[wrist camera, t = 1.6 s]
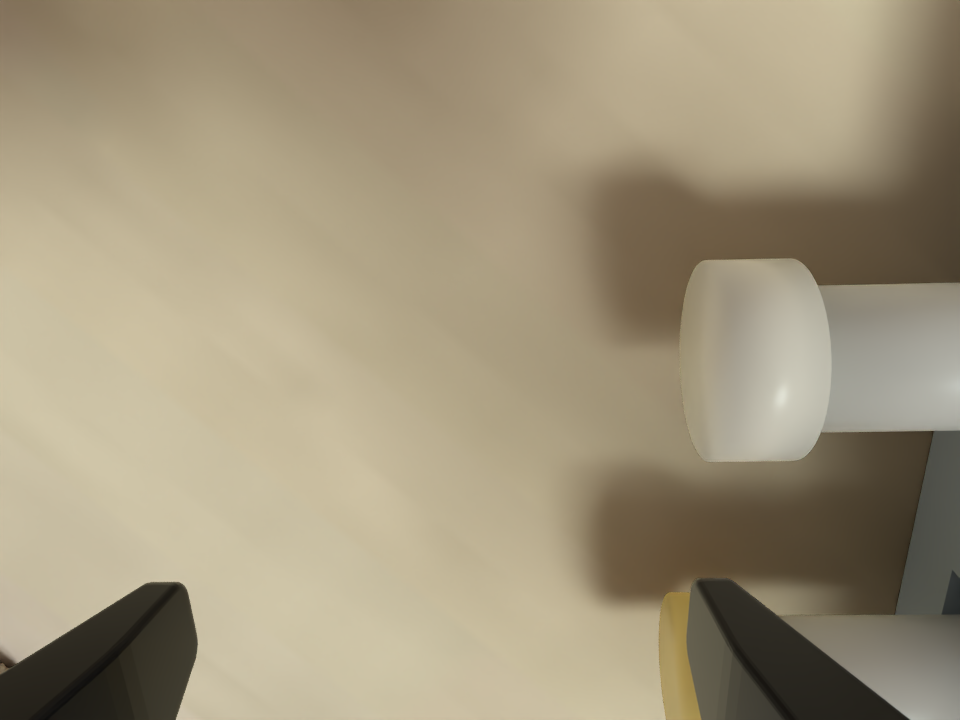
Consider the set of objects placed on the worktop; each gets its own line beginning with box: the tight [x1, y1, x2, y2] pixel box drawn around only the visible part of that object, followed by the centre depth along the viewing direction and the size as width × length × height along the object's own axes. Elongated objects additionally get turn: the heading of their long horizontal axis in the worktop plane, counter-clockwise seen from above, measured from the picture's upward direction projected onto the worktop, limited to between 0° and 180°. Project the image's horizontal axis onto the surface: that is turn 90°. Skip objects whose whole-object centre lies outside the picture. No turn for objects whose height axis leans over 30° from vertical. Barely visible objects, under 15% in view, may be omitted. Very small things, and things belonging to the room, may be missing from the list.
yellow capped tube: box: [659, 592, 960, 720], centre depth 19 cm, size 4×9×4 cm, turn 92°
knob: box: [679, 258, 960, 462], centre depth 16 cm, size 4×9×4 cm, turn 92°
